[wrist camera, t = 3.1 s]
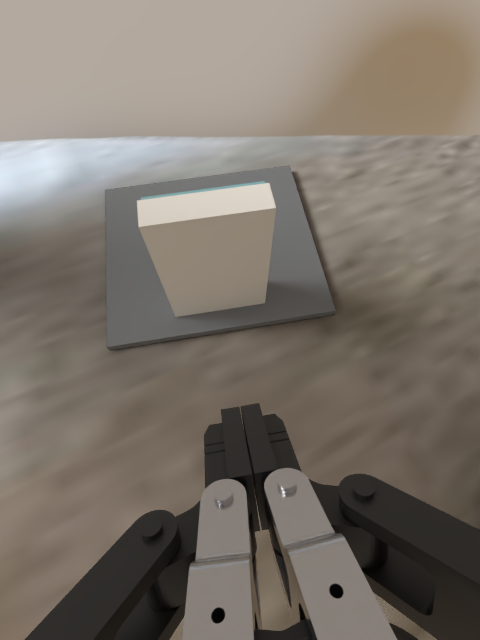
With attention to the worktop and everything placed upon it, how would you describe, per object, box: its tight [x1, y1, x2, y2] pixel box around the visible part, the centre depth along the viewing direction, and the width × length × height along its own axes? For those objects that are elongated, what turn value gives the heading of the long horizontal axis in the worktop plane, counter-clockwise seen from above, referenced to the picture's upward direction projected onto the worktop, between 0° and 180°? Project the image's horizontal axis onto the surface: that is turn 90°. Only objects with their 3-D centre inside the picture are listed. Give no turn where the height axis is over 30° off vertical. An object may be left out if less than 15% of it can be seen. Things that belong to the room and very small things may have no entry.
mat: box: [105, 166, 336, 350], centre depth 35 cm, size 20×18×1 cm
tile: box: [137, 181, 276, 317], centre depth 26 cm, size 8×2×12 cm, turn 100°
